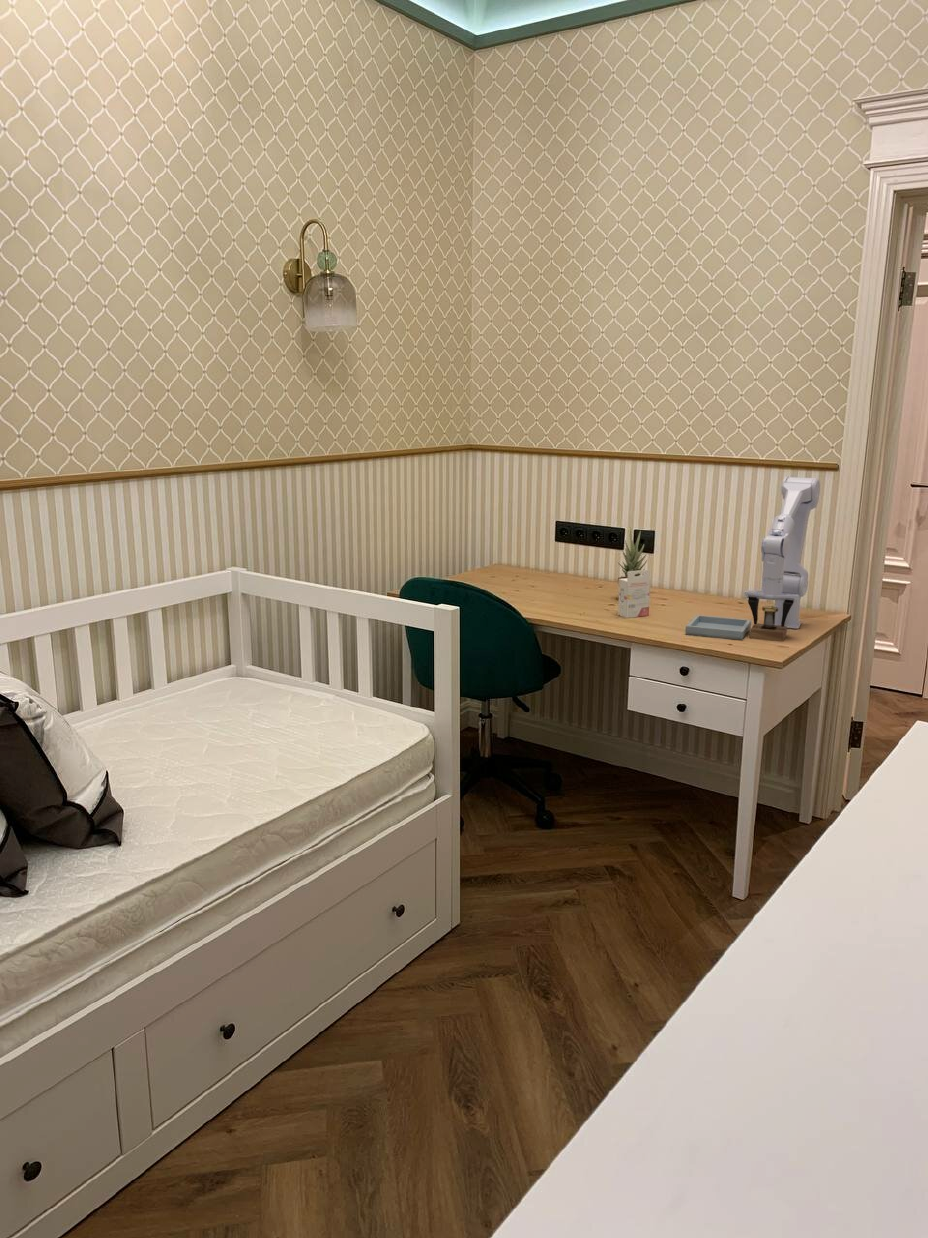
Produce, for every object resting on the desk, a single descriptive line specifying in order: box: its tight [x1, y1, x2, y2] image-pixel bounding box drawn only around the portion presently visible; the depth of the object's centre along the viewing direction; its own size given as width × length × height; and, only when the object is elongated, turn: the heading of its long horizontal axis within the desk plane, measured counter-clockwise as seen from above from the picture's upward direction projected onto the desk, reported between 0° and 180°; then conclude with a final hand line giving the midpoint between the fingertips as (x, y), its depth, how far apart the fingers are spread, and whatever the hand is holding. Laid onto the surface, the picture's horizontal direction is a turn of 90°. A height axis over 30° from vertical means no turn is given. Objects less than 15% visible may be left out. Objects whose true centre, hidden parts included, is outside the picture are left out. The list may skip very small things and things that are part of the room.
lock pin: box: [761, 605, 778, 630], centre depth 277 cm, size 4×4×8 cm
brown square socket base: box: [749, 622, 788, 642], centre depth 277 cm, size 9×9×2 cm
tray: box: [685, 614, 752, 641], centre depth 283 cm, size 16×16×2 cm
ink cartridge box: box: [617, 569, 651, 619], centre depth 302 cm, size 9×5×15 cm, turn 114°
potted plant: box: [616, 528, 648, 585], centre depth 324 cm, size 10×10×25 cm
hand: (769, 624), depth 277 cm, fingers open, 7 cm apart
